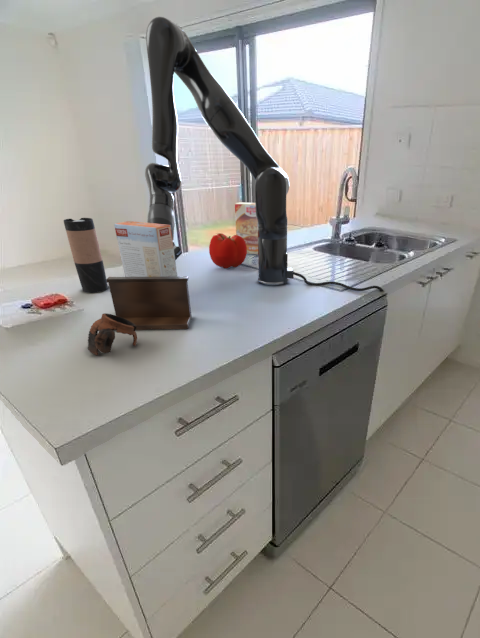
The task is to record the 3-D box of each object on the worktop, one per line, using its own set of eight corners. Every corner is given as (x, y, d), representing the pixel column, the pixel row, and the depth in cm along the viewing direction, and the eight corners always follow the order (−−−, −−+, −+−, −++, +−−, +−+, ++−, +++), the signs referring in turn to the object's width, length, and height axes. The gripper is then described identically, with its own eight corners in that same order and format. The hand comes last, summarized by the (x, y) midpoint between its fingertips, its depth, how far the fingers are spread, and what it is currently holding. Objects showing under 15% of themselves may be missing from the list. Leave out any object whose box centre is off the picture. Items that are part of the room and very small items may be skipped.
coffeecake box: (236, 253, 157) (234, 203, 147) (240, 250, 163) (238, 201, 153) (270, 255, 155) (270, 204, 145) (273, 251, 161) (274, 203, 151)
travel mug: (99, 294, 110) (81, 222, 100) (76, 292, 111) (56, 220, 101) (114, 286, 116) (98, 218, 106) (92, 284, 118) (75, 217, 107)
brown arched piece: (90, 342, 83) (102, 308, 81) (132, 358, 85) (145, 325, 84) (72, 354, 71) (86, 314, 70) (122, 371, 74) (136, 333, 73)
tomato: (204, 269, 135) (201, 235, 129) (223, 260, 147) (221, 229, 141) (236, 273, 131) (234, 238, 125) (253, 264, 143) (253, 232, 137)
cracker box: (182, 303, 104) (171, 223, 94) (167, 309, 100) (155, 227, 89) (144, 295, 109) (130, 219, 99) (129, 301, 105) (112, 222, 94)
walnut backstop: (192, 318, 95) (188, 276, 89) (189, 328, 89) (183, 284, 83) (118, 319, 93) (108, 276, 88) (109, 330, 87) (98, 285, 82)
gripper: (133, 216, 105) (129, 271, 101) (180, 216, 106) (178, 271, 102) (141, 232, 112) (138, 284, 108) (186, 232, 113) (184, 284, 109)
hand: (158, 277), depth 105 cm, fingers closed
